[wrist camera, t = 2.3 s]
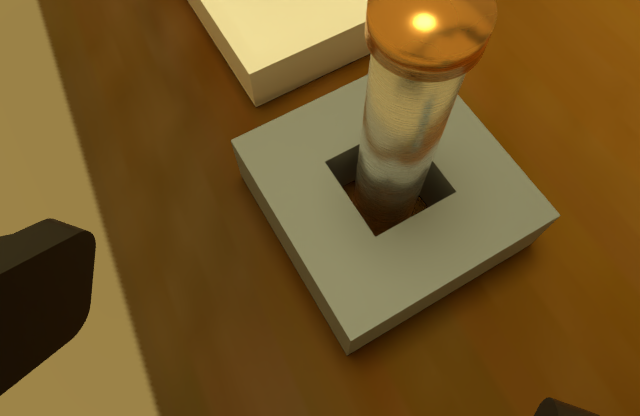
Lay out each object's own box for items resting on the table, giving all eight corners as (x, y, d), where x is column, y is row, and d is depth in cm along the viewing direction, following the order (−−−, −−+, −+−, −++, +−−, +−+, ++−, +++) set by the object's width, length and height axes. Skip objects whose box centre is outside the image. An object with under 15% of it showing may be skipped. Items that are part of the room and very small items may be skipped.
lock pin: (391, 167, 31) (446, -56, 17) (430, 220, 30) (524, 23, 16) (334, 198, 30) (343, -11, 16) (370, 254, 29) (415, 77, 15)
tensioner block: (409, 93, 33) (419, 49, 30) (530, 244, 29) (560, 215, 25) (241, 176, 31) (230, 140, 27) (347, 355, 26) (350, 341, 23)
